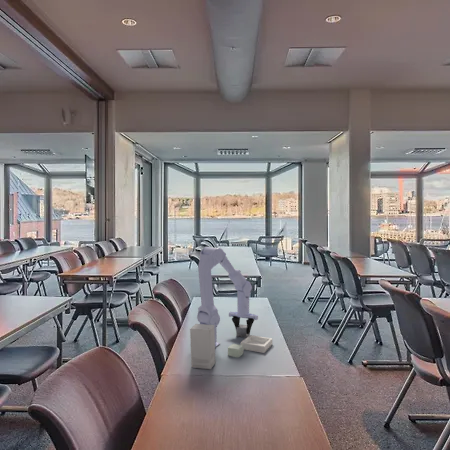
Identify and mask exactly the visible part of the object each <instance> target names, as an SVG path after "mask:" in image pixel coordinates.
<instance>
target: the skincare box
mask: <svg viewBox="0 0 450 450" xmlns="http://www.w3.org/2000/svg"><path fill="white" fill-rule="evenodd" d="M189 332H190V335H189V337H190V363H191V368H193V369H195V368H196V369H203V370H212V368H213V367H214V366H215V364H216V347H215V332H214V325H205V324H200V323H195V324H194V325H193V326H192V327H190V328H189Z"/></svg>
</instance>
